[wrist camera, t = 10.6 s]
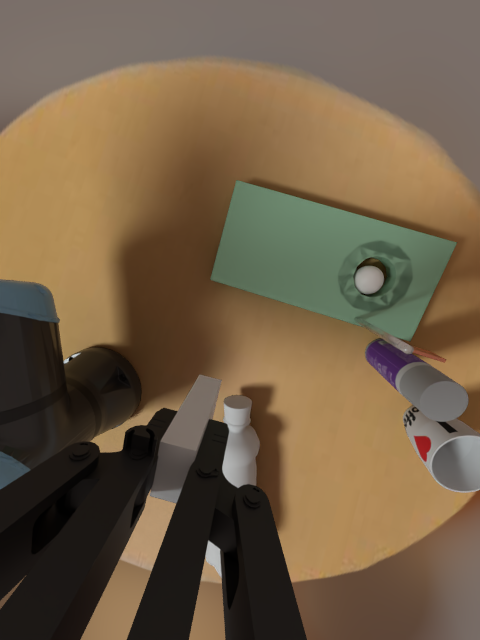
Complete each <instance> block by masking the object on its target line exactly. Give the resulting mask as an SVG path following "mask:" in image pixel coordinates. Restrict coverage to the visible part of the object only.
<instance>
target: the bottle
mask: <svg viewBox="0 0 480 640" xmlns="http://www.w3.org/2000/svg"><path fill="white" fill-rule="evenodd" d="M251 406H252V401H251V399H249V398H248V397H245V396H242V395H232V396H228V397H227V398H225V399H224V413H225V416H224V418H223V421H224V423H226V424H227V425H228V428H229V436H228V441H227V446H226V451H225V456H224V461H223V466H222V470H223V474H224V476H225V478H226V479H227V480H228V481H229V482H230V483H231V484H233V485H234V486H236V487H238V488H239V487H240V486H242V485H246V484H251V485H255V486H256V476H257V466H256V459H255V457H256V456H257V455H258V451H259V448H260V441H259V438H258V436H257V434H256V432H255V430H254V428H253V427H252V426H250V425H249V424H250V423H251V419H250V412H251ZM206 561H207V562H208V563H209V564H210V565H213V566H214V567H215V569H216V570H217V572H218V574H219V575H220V577H222V575H221V559H220V549H219V548H218V547H217V546H215V545H214V544H212V543H211V542H210V541H208V545H207V550H206Z"/></svg>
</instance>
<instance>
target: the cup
mask: <svg viewBox="0 0 480 640" xmlns="http://www.w3.org/2000/svg"><path fill="white" fill-rule="evenodd" d="M403 422H404V426H405V429H406V432H407V435H408V437H409V439H410V441H411V443H412V445H413V447H414V449H415V451H416V453H417V454H418V456H419V457H420V459H421V460H422V462H423V463H424V464H425V466H426V467H427V469H428V470H429V472H430V473H431V475H432V476H433V478H434V479H435V480H436V481H437V483H439V484H440V485H441V486H443V487H444V488H446V489H448V490H451V491H455V492H473V491H478V490H480V434H479V433H478V432H476V431H475V430H474V429H472V428H471V427H469V426H468V425H467V424H465V423H464V422H462V421H460V420H458V419H453V420H451V421H446V422H439V421H434V420H431V419H429V418H428V417H426V416H425V415H424V414H423V413H422V412H421V411H419V410H418V409H417V408H416V407H415V406H414V405H413V406H411V407H409V408H408V409H407V410H406V411H405V413H404V415H403Z"/></svg>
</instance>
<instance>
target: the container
mask: <svg viewBox="0 0 480 640" xmlns="http://www.w3.org/2000/svg"><path fill="white" fill-rule="evenodd" d="M365 357H366V359H367V361H368V362H369V363H370V364H371V365H372V366H373V367H374V368H375V369H376V370H377V371H378V372H379V373H380V374H381V375H382V376H383V377H384V378H385V379H386V380H387V381H388V382H389V383H390V384H391V385H392V386H393V387H394V388H395V389H396V390H397V391H398V392H399V393H400V394H402V395H403V396H404V397H405V398H406V399H407V400H408V401H409V402H411V403H412V404H413V405H414V406H415V407H416V408H417V409H418V410H419V411H421V412H422V413H423V414H424V415H425V416H426V417H428V418H429V419H431V420H434V421H439V422H446V421H451V420H453V419H456V418H457V417H459V416H460V415H461V414H462V413H463V412H464V411H465V410H466V408H467V405H468V394H467V392H466V390H465V389H464V388H463V387H462V386H461V385H459V384H458V383H456V382H455V381H453V380H452V379H450V378H449V377H447V376H446V375H444V374H443V373H441V372H440V371H438V370H437V369H435V368H434V367H432V366H431V365H429V364H428V363H426V362H424V361H423V360H421V359H419V358H418V357H416V356H414V355H413V354H406V353H404V352H403V351H401V350H399V349H398V348H396V347H395V346H393V345H392V344H390V343H388V342H387V341H385V340H384V339H376V340H374V341H372V342H371V343H369V345H368V346H367V348H366V350H365Z"/></svg>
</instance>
